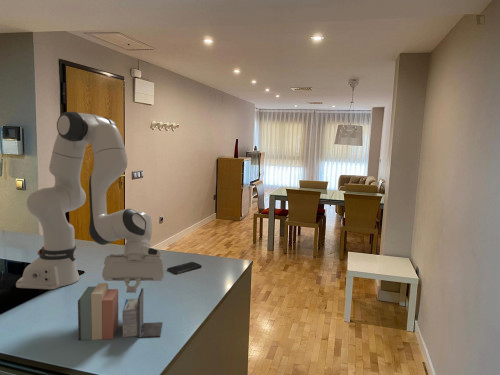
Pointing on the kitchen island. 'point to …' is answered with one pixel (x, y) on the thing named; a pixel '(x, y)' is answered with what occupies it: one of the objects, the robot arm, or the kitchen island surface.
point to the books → (99, 312)
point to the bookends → (143, 328)
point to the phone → (184, 267)
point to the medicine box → (130, 318)
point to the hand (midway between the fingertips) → (131, 292)
